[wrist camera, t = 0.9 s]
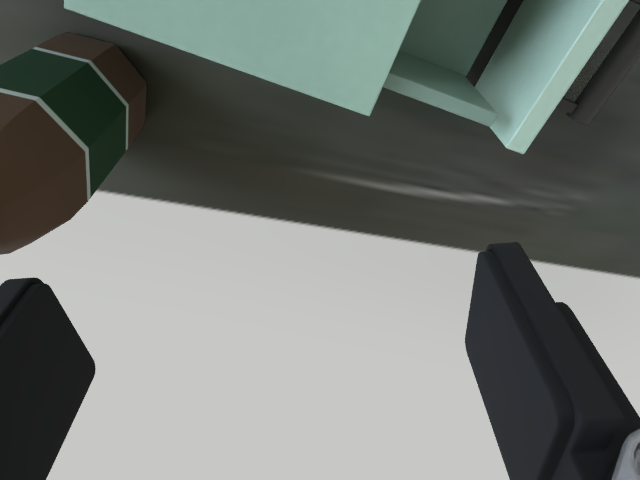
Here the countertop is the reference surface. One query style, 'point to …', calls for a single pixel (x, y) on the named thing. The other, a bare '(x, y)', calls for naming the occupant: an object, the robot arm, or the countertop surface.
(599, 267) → the countertop surface
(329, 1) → the cabinet
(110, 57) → the beer bottle
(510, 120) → the drawer
